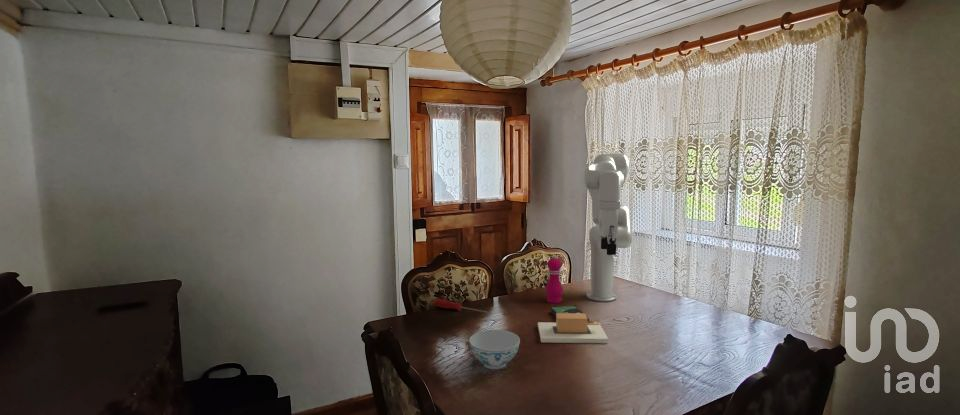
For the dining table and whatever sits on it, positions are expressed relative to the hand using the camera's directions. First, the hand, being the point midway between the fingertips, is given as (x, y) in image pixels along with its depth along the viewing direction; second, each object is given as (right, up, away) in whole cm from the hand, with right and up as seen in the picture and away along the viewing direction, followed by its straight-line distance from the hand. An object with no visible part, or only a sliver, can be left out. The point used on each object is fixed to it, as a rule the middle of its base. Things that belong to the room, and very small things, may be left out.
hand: (608, 251), depth 164 cm
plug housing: (-13, -26, -9) cm, 31 cm away
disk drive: (-13, -27, +7) cm, 30 cm away
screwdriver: (-55, -26, +16) cm, 62 cm away
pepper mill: (-15, -24, +27) cm, 39 cm away
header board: (-15, -28, -9) cm, 33 cm away
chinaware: (-43, -31, -30) cm, 61 cm away
